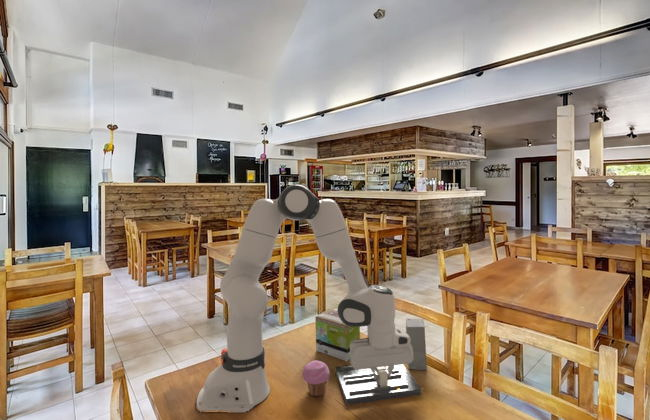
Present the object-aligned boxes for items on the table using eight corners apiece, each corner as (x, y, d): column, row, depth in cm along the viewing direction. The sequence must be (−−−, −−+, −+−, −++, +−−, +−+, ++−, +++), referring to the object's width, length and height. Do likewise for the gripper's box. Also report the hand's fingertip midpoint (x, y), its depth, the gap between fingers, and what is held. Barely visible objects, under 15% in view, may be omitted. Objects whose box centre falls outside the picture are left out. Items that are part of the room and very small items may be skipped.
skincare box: (427, 371, 120) (427, 327, 118) (406, 369, 121) (406, 326, 120) (425, 358, 128) (425, 318, 127) (405, 357, 130) (405, 317, 128)
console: (346, 404, 103) (346, 383, 103) (335, 372, 121) (334, 353, 120) (421, 394, 107) (421, 374, 106) (399, 364, 125) (399, 346, 124)
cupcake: (332, 398, 106) (332, 368, 105) (305, 403, 105) (304, 372, 104) (327, 382, 115) (326, 353, 114) (301, 386, 113) (300, 357, 112)
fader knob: (380, 387, 108) (380, 372, 107) (376, 379, 112) (376, 366, 111) (387, 386, 108) (387, 371, 108) (383, 378, 112) (383, 365, 112)
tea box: (315, 352, 135) (314, 316, 134) (329, 341, 144) (328, 307, 142) (347, 362, 127) (347, 324, 126) (360, 351, 135) (360, 315, 134)
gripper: (352, 344, 104) (352, 387, 105) (415, 337, 107) (415, 379, 108) (347, 335, 110) (348, 376, 111) (407, 329, 113) (407, 368, 115)
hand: (381, 377), depth 110 cm, fingers closed on fader knob, 2 cm apart
